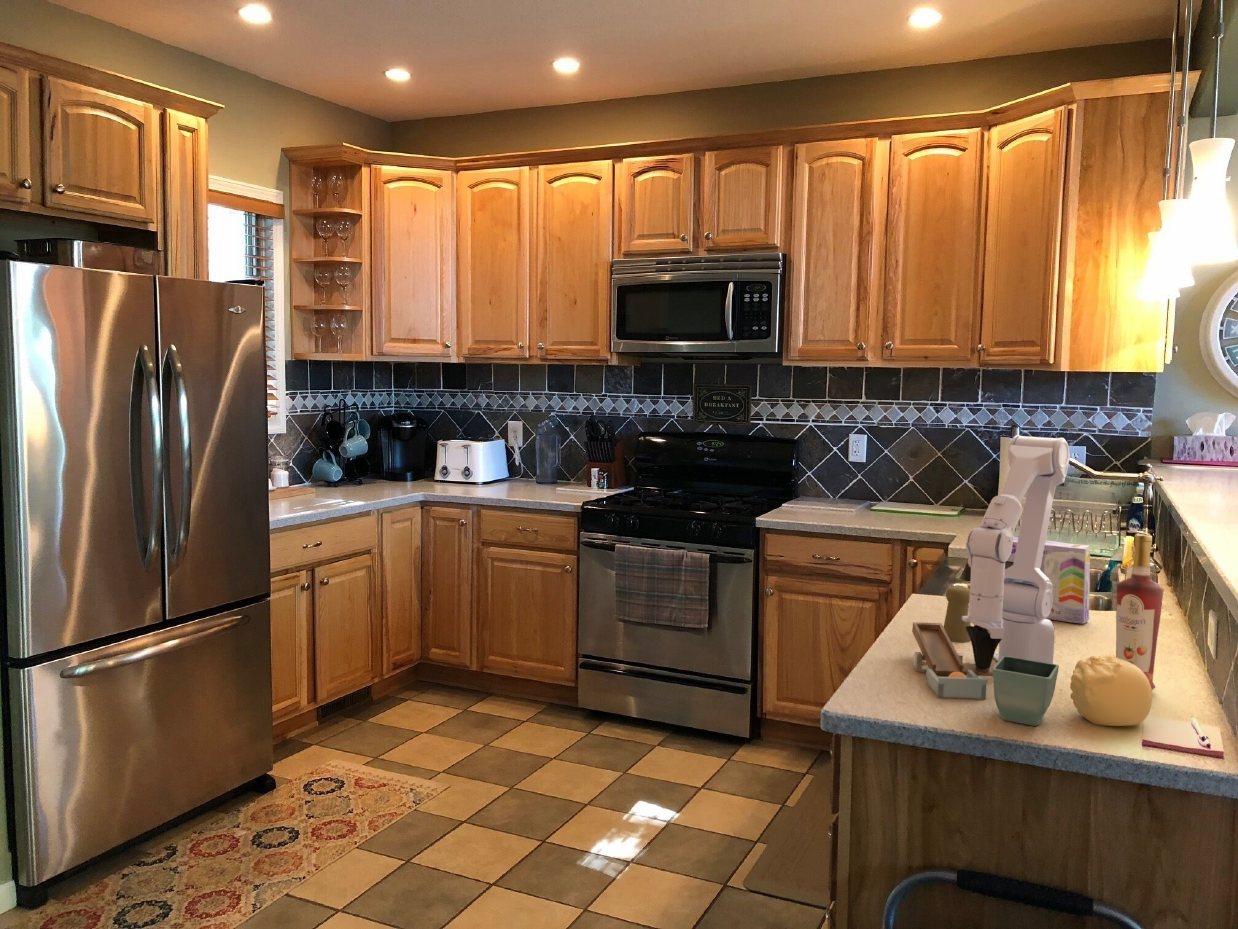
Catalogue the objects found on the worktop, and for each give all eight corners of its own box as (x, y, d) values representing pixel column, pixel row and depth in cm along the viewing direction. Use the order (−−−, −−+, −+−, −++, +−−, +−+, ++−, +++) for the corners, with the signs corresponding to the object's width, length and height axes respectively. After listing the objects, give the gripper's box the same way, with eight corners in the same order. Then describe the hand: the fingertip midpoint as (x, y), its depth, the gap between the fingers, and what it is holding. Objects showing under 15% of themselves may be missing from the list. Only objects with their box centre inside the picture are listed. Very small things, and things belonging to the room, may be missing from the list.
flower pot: (1047, 733, 155) (1050, 678, 155) (988, 722, 160) (991, 668, 159) (1056, 717, 163) (1059, 664, 162) (999, 707, 168) (1002, 655, 167)
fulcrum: (958, 669, 188) (959, 652, 188) (962, 673, 186) (963, 656, 185) (913, 667, 189) (914, 651, 188) (916, 671, 186) (917, 655, 186)
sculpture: (1063, 705, 169) (1067, 643, 168) (1141, 713, 165) (1146, 650, 164) (1073, 728, 158) (1077, 662, 157) (1157, 737, 155) (1162, 670, 153)
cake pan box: (996, 611, 234) (1000, 537, 232) (1003, 608, 238) (1008, 535, 236) (1082, 626, 222) (1087, 548, 220) (1089, 622, 225) (1094, 545, 224)
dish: (970, 683, 180) (971, 664, 179) (985, 699, 171) (986, 679, 171) (926, 682, 180) (926, 663, 180) (938, 697, 172) (939, 678, 171)
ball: (963, 686, 176) (966, 668, 175) (969, 696, 173) (971, 678, 172) (943, 685, 177) (945, 667, 176) (948, 695, 173) (951, 677, 172)
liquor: (1162, 692, 177) (1174, 536, 174) (1146, 700, 172) (1157, 540, 169) (1120, 681, 182) (1130, 530, 179) (1103, 689, 177) (1113, 534, 175)
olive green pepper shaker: (940, 640, 208) (943, 588, 207) (942, 633, 214) (945, 582, 213) (971, 643, 206) (973, 591, 205) (972, 636, 212) (975, 585, 211)
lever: (969, 636, 196) (971, 624, 195) (994, 681, 180) (996, 667, 180) (910, 635, 197) (912, 622, 196) (930, 678, 181) (932, 665, 180)
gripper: (952, 584, 187) (949, 655, 188) (976, 602, 173) (972, 678, 174) (991, 585, 187) (987, 656, 188) (1017, 603, 172) (1013, 680, 174)
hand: (982, 667), depth 181 cm, fingers closed
